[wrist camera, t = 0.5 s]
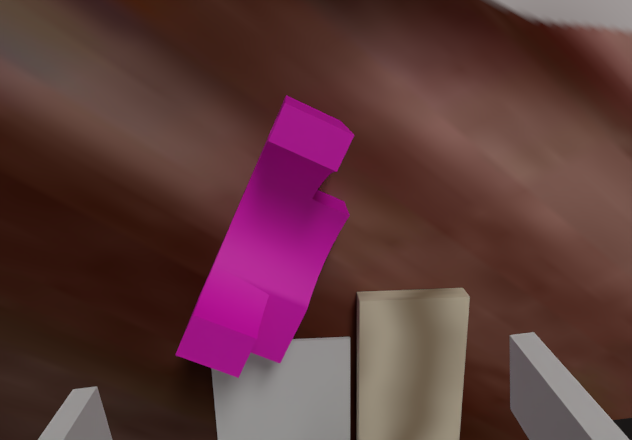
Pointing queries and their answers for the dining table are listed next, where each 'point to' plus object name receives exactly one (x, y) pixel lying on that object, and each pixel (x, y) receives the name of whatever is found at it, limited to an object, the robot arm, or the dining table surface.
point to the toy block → (272, 245)
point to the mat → (288, 394)
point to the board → (410, 363)
